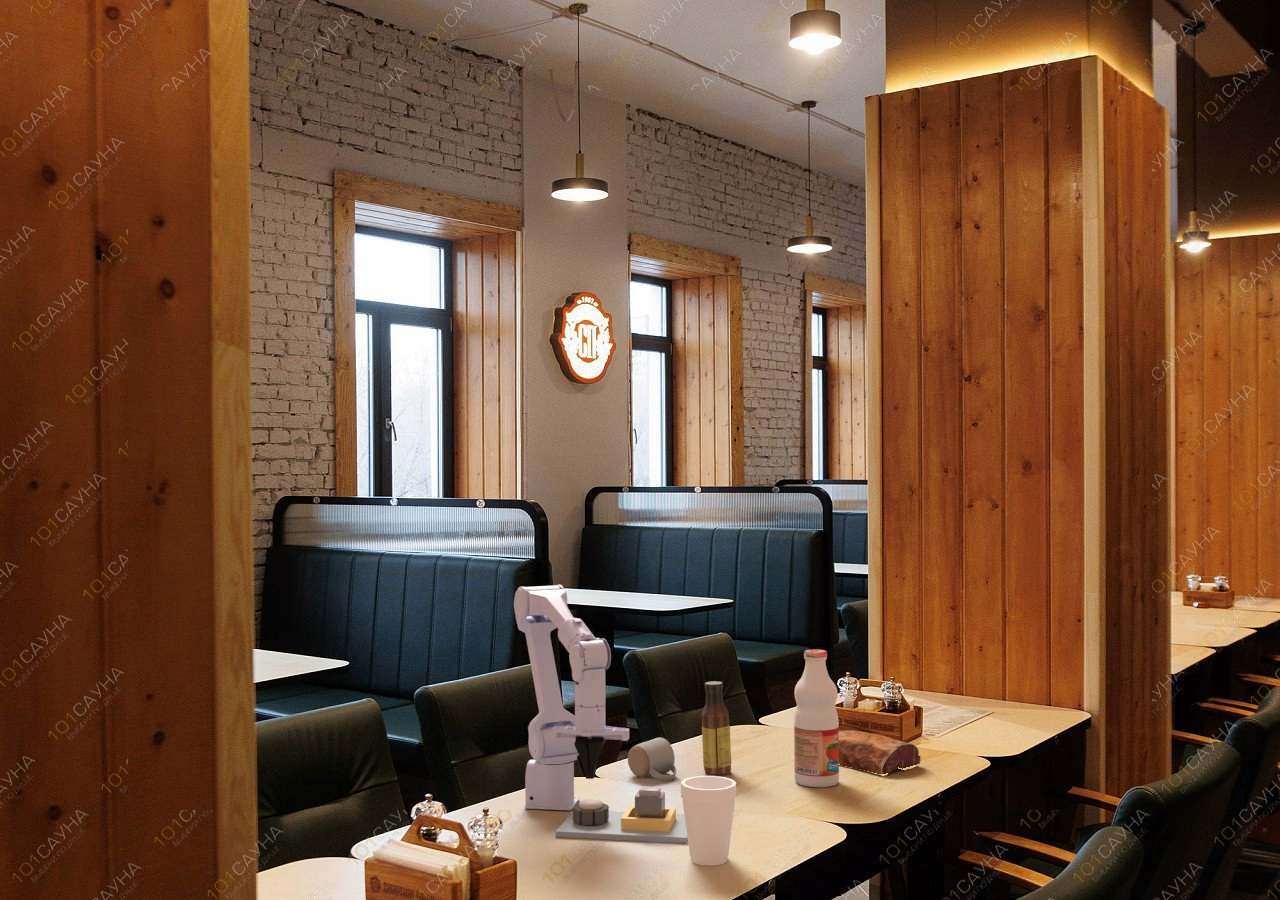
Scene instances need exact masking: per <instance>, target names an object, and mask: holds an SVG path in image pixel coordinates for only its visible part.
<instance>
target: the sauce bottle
mask: <svg viewBox="0 0 1280 900" xmlns="http://www.w3.org/2000/svg"><path fill="white" fill-rule="evenodd" d="M704 689H705V705H704V706H703V708H702V710H701V713H700V714H701V735H702V739H701V740H702V742H701V743H702V759H703V760H702V761H703V771H704V773H705V774H707V775H710V774H711V775H710V776H723V775H724V776H725V775H729V774H730V773H731V772H732V764H733V763H732V748H731V747H732V745H731V743H732V742H731V726H730V725H731V724H730V718H729V717H730V716H729V710H728V709H727V706H726V704H725V703H724V699H723V698H724V697H723V689H724V683H723V682H722V681H715V680H713V681H707V682H705V683H704Z"/></svg>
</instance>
